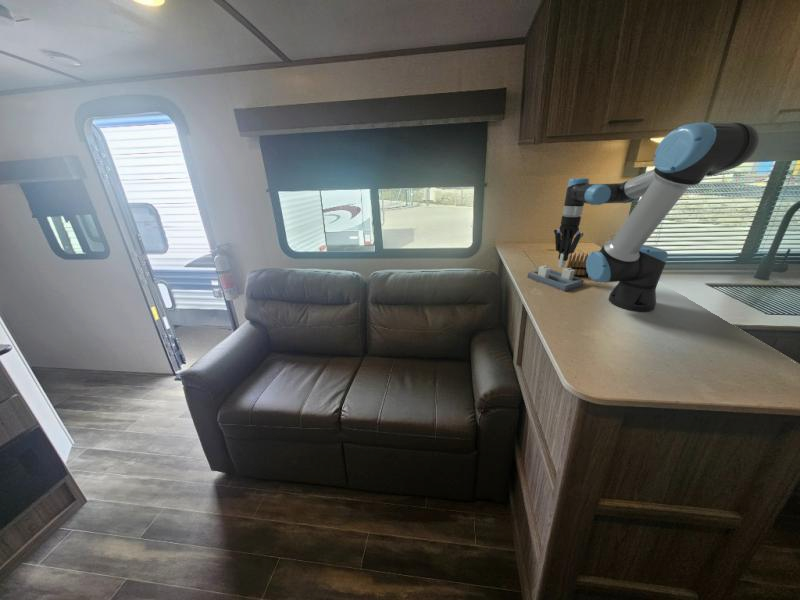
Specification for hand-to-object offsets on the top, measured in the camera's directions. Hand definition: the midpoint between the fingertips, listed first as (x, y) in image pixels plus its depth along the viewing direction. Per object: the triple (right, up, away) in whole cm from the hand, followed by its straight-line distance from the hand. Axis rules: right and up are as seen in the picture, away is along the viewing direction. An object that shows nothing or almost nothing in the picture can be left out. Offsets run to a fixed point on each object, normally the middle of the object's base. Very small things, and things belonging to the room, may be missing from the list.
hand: (561, 266), depth 142 cm
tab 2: (+2, -6, -1) cm, 6 cm away
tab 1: (-8, -5, +2) cm, 9 cm away
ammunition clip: (+11, -4, +7) cm, 13 cm away
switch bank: (-3, -7, +1) cm, 8 cm away
